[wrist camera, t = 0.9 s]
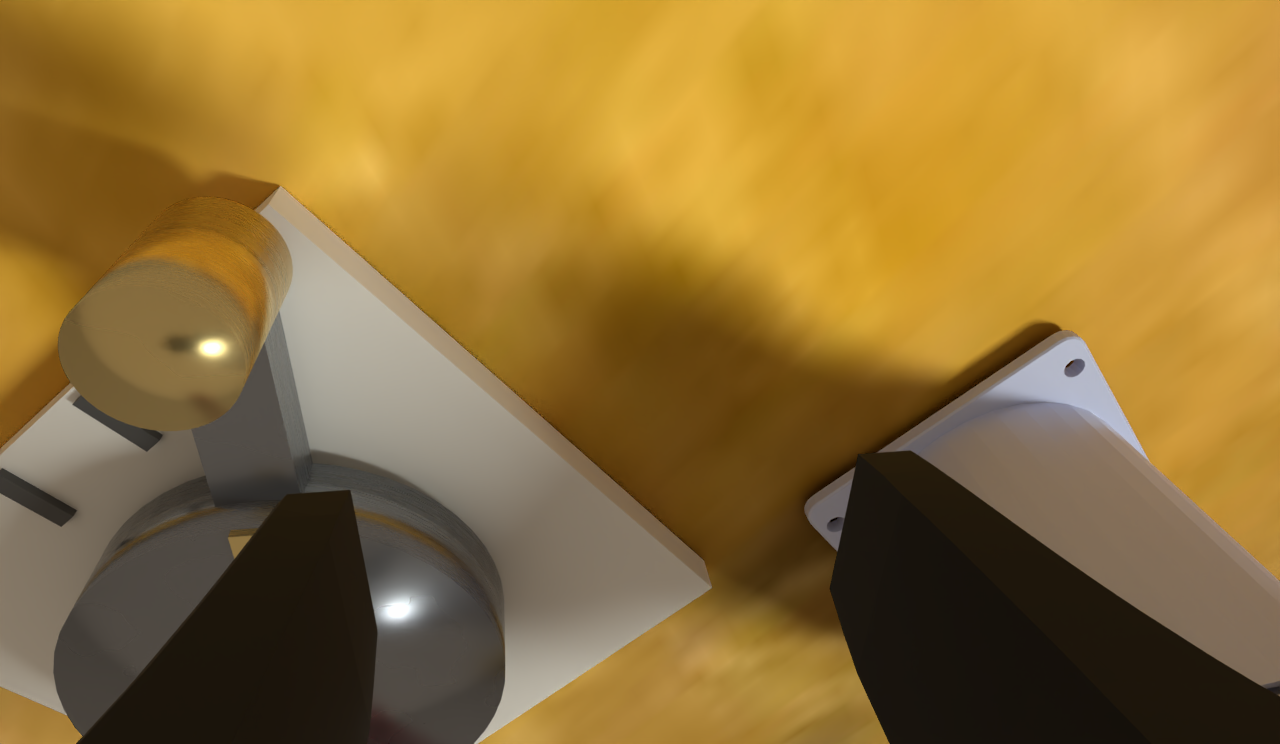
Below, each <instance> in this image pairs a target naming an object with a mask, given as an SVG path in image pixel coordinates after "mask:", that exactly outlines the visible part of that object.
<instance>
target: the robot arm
mask: <svg viewBox="0 0 1280 744" xmlns="http://www.w3.org/2000/svg"><path fill="white" fill-rule="evenodd" d="M1072 360H1074V362H1073V363H1072V364H1071V365H1070V366H1069V367H1067V368H1065V367H1066V365H1067V364H1068V363H1069V362H1070V361H1072ZM804 512H805V514H806V516H807V518H808V520H809V522H810V524H811V525H812V526H813V527H814V528H815V529H816V530H817V531H818V532H819V533H820V534H821V535H822V536H823V537H824V538H825V539H826V540H827V541H828V543H829V544H830V545H831V546H832V547H833V548H834V549H835V550H836V551H837V556H836V561H835V566H834V570H833V575H832V580H831V585H830V591H831V594H832V597H833V601H834V604H835V607H836V610H837V613H838V617H839V620H840V623H841V626H842V630H843V633H844V636H845V639H846V642H847V645H848V648H849V651H850V653H851V656H852V659H853V662H854V665H855V668H856V671H857V674H858V676H859V678H860V680H861V683H862V685H863V687H864V689H865V691H866V694H867V696H868V698H869V700H870V702H871V704H872V707H873V709H874V711H875V713H876V715H877V717H878V720H879V722H880V724H881V726H882V728H883V730H884V732H885V735H886V737H887V739H888V741H889V743H890V744H1280V581H1279V580H1278V579H1277V578H1276V577H1275V576H1274V575H1272V574H1271V573H1270V572H1269V571H1268V570H1267V569H1266V568H1265V567H1264V566H1263V565H1262V564H1260V563H1259V562H1258V561H1257V560H1256V559H1255V558H1254V557H1253V556H1252V555H1251V554H1250V553H1248V552H1247V551H1246V550H1245V549H1244V548H1243V547H1242V546H1241V545H1240V544H1239V543H1238V542H1236V541H1235V540H1234V539H1233V538H1232V537H1231V536H1230V535H1229V534H1228V533H1227V532H1226V531H1224V530H1223V529H1222V528H1221V527H1220V526H1219V525H1218V524H1217V523H1216V522H1215V521H1214V520H1212V519H1211V518H1210V517H1209V516H1208V515H1207V514H1206V513H1205V512H1204V511H1203V510H1202V509H1200V508H1199V507H1198V506H1197V505H1196V504H1195V503H1194V502H1193V501H1192V500H1191V499H1190V498H1188V497H1187V496H1186V495H1185V494H1184V493H1183V492H1182V491H1181V490H1180V489H1179V488H1178V487H1176V486H1175V485H1174V484H1173V483H1172V482H1171V481H1170V480H1169V479H1168V478H1167V477H1166V476H1164V475H1163V474H1162V473H1161V472H1160V471H1159V470H1158V469H1157V468H1156V467H1155V466H1154V465H1152V464H1151V463H1150V462H1149V460H1148V458H1147V456H1146V454H1145V452H1144V450H1143V449H1142V447H1141V445H1140V443H1139V441H1138V439H1137V438H1136V436H1135V434H1134V432H1133V430H1132V428H1131V426H1130V425H1129V423H1128V421H1127V419H1126V417H1125V415H1124V413H1123V412H1122V410H1121V408H1120V406H1119V404H1118V402H1117V401H1116V399H1115V397H1114V395H1113V393H1112V391H1111V389H1110V388H1109V386H1108V384H1107V382H1106V380H1105V378H1104V377H1103V375H1102V373H1101V371H1100V369H1099V367H1098V365H1097V364H1096V362H1095V360H1094V358H1093V356H1092V354H1091V353H1090V351H1089V349H1088V347H1087V345H1086V343H1085V342H1084V341H1083V340H1082V339H1081V338H1080V337H1079V336H1078V335H1077V334H1075V333H1074V332H1072V331H1068V330H1064V331H1059V332H1057V333H1055V334H1052V335H1051V336H1049V337H1048V338H1046V339H1045V340H1043V341H1042V342H1040V343H1039V344H1037V345H1036V346H1034V347H1033V348H1031V349H1030V350H1028V351H1027V352H1025V353H1024V354H1022V355H1021V356H1019V357H1018V358H1017V359H1015V360H1014V361H1012V362H1011V363H1009V364H1008V365H1006V366H1005V367H1003V368H1002V369H1000V370H999V371H997V372H996V373H994V374H993V375H991V376H990V377H988V378H987V379H985V380H984V381H982V382H981V383H979V384H978V385H976V386H975V387H973V388H972V389H970V390H969V391H967V392H966V393H964V394H963V395H961V396H960V397H959V398H957V399H956V400H954V401H953V402H951V403H950V404H948V405H947V406H945V407H944V408H942V409H941V410H939V411H938V412H936V413H935V414H933V415H932V416H930V417H929V418H927V419H926V420H924V421H923V422H921V423H920V424H918V425H917V426H915V427H914V428H912V429H911V430H909V431H908V432H906V433H905V434H903V435H902V436H900V437H899V438H898V439H896V440H895V441H893V442H892V443H890V444H889V445H887V446H886V447H884V448H883V449H881V450H880V451H878V452H877V453H866V454H858V458H857V462H856V467H854V468H853V469H851V470H850V471H848V472H847V473H845V474H844V475H842V476H841V477H839V478H838V479H837V480H835V481H834V482H832V483H831V484H829V485H828V486H826V487H825V488H823V489H822V490H820V491H819V492H817V493H816V494H814V495H813V496H812V497H811V498H809V499H808V500H807V502H806V504H805V507H804ZM836 517H839V518H838V519H837V520H835V521H833V522H829V521H830V520H831V519H833V518H836ZM377 635H378V630H377V624H376V619H375V614H374V609H373V604H372V599H371V593H370V588H369V583H368V578H367V573H366V568H365V562H364V557H363V552H362V547H361V542H360V536H359V531H358V526H357V521H356V516H355V511H354V505H353V500H352V495H351V490H340V491H325V492H311V493H297V494H287V495H286V496H285V497H284V498H283V499H282V500H281V501H280V502H279V503H278V504H277V505H276V506H275V507H274V509H273V510H272V511H271V513H270V514H269V515H268V516H267V518H266V519H265V520H264V521H263V523H262V524H261V525H260V527H259V528H258V529H257V531H256V532H255V533H254V534H253V536H252V537H251V538H250V540H249V541H248V542H247V543H246V545H245V546H244V547H243V549H242V550H241V551H240V552H239V554H238V555H237V556H236V558H235V559H234V560H233V561H232V563H231V564H230V565H229V566H228V568H227V569H226V570H225V571H224V573H223V574H222V575H221V576H220V578H219V579H218V580H217V581H216V583H215V584H214V585H213V586H212V588H211V589H210V590H209V591H208V593H207V594H206V595H205V596H204V598H203V599H202V600H201V601H200V603H199V604H198V605H197V606H196V608H195V609H194V610H193V611H192V612H191V613H190V615H189V616H188V617H187V618H186V619H185V621H184V622H183V623H182V624H181V625H180V627H179V628H178V629H177V630H176V631H175V632H174V634H173V635H172V636H171V637H170V638H169V640H168V641H167V642H166V643H165V644H164V646H163V647H162V648H161V649H160V650H159V652H158V653H157V654H156V655H155V656H154V657H153V659H152V660H151V661H150V662H149V663H148V665H147V666H146V667H145V668H144V669H143V670H142V672H141V673H140V674H139V675H138V676H137V677H136V679H135V680H134V681H133V682H132V683H131V684H130V685H129V686H128V688H127V689H126V690H125V691H124V692H123V693H122V694H121V695H120V696H119V698H118V699H117V700H116V701H115V702H114V703H113V704H112V705H111V706H110V707H109V708H108V710H107V711H106V712H105V713H104V714H103V715H102V716H101V717H100V718H99V719H98V720H97V722H96V723H95V724H94V725H93V726H92V727H91V728H90V729H89V730H88V731H87V732H86V734H85V735H84V736H83V737H82V738H81V739H80V740H79V741H78V742H77V743H76V744H367V741H368V736H369V730H370V723H371V711H372V700H373V688H374V676H375V662H376V649H377Z"/></svg>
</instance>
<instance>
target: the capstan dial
mask: <svg viewBox="0 0 1280 744" xmlns="http://www.w3.org/2000/svg"><path fill="white" fill-rule="evenodd" d="M292 276H293V265H292V258H291V255H290V251H289V249H288V247H287V244H286V242H285V241H284V239H283V237H282V236H281V234H280V233H279V232H278V231H277V229H276V228H275V227H274V226H273V225H272V224H271V223H270V222H269V221H268V220H267V219H266V218H264V217H263V216H262V215H260V214H259V213H257V212H256V211H254V210H253V209H251V208H249V207H247V206H245V205H243V204H240V203H238V202H235V201H231V200H228V199H223V198H217V197H195V198H190V199H186V200H183V201H180V202H177V203H175V204H173V205H171V206H170V207H168V208H167V209H165V210H164V211H163V212H162V213H161V214H160V215H159V216H158V217H157V218H156V219H155V220H154V221H153V222H152V223H151V224H150V225H149V227H148V228H147V229H146V230H145V231H144V232H143V233H142V234H141V235H140V236H139V237H138V238H137V239H136V241H135V242H134V243H133V244H132V245H131V246H130V247H129V248H128V249H127V250H126V251H125V252H124V254H123V255H122V256H121V257H120V258H119V259H118V260H117V261H116V262H115V263H114V264H113V265H112V267H111V268H110V269H109V270H108V271H107V272H106V273H105V274H104V275H103V276H102V277H101V278H100V279H99V281H98V282H97V283H96V284H95V285H94V286H93V287H92V288H91V289H90V290H89V291H88V292H87V294H86V295H85V296H84V297H83V298H82V299H81V300H80V301H79V302H78V303H77V304H76V305H75V307H74V308H73V309H72V310H71V311H70V312H69V313H68V315H67V316H66V318H65V319H64V321H63V324H62V326H61V328H60V332H59V337H58V352H59V358H60V362H61V365H62V368H63V370H64V372H65V374H66V376H67V378H68V379H69V381H70V382H71V384H72V385H73V387H74V388H75V389H76V390H77V391H78V392H79V394H80V395H81V396H82V397H84V398H85V399H86V400H87V401H88V402H89V403H90V404H92V405H93V406H94V407H96V408H97V409H98V410H100V411H102V412H103V413H105V414H107V415H108V416H110V417H112V418H114V419H116V420H118V421H121V422H124V423H126V424H129V425H132V426H136V427H139V428H144V429H149V430H157V431H181V430H189V429H191V430H192V434H193V437H194V440H195V443H196V447H197V450H198V453H199V456H200V460H201V463H202V466H203V469H204V473H205V476H202V477H199V478H196V479H193V480H190V481H187V482H185V483H183V484H181V485H179V486H177V487H175V488H173V489H171V490H169V491H167V492H164V493H162V494H161V495H159V496H158V497H156V498H155V499H153V500H152V501H150V502H149V503H147V504H146V505H144V506H143V507H141V508H140V509H139V510H138V511H137V512H136V513H135V514H134V515H132V516H131V517H130V518H129V519H128V520H127V521H126V522H125V523H124V524H123V525H122V526H121V528H120V529H119V530H118V531H117V533H116V534H115V535H114V536H113V538H112V539H111V540H110V542H109V544H108V545H107V547H106V549H105V551H104V553H103V554H102V556H101V558H100V560H99V562H98V563H97V565H96V567H95V569H94V571H93V572H92V574H91V576H90V578H89V580H88V581H87V583H86V585H85V587H84V589H83V590H82V592H81V594H80V596H79V598H78V599H77V601H76V603H75V605H74V607H73V608H72V610H71V612H70V614H69V616H68V618H67V619H66V621H65V623H64V625H63V627H62V629H61V631H60V633H59V637H58V640H57V644H56V647H55V651H54V666H53V674H54V679H55V685H56V691H57V694H58V696H59V699H60V701H61V704H62V706H63V709H64V711H65V712H66V714H67V716H68V717H69V719H70V720H71V722H72V723H73V725H74V727H75V728H76V729H77V730H78V731H79V733H80V734H81V735H82V736H84V735H85V734H86V732H87V731H88V730H89V729H90V728H91V727H92V726H93V725H94V724H95V723H96V722H97V720H98V719H99V718H100V717H101V716H102V715H103V714H104V713H105V712H106V711H107V710H108V708H109V707H110V706H111V705H112V704H113V703H114V702H115V701H116V700H117V699H118V698H119V696H120V695H121V694H122V693H123V692H124V691H125V690H126V689H127V688H128V686H129V685H130V684H131V683H132V682H133V681H134V680H135V679H136V677H137V676H138V675H139V674H140V673H141V672H142V670H143V669H144V668H145V667H146V666H147V665H148V663H149V662H150V661H151V660H152V659H153V657H154V656H155V655H156V654H157V653H158V652H159V650H160V649H161V648H162V647H163V646H164V644H165V643H166V642H167V641H168V640H169V638H170V637H171V636H172V635H173V634H174V632H175V631H176V630H177V629H178V628H179V627H180V625H181V624H182V623H183V622H184V621H185V619H186V618H187V617H188V616H189V615H190V613H191V612H192V611H193V610H194V609H195V608H196V606H197V605H198V604H199V603H200V601H201V600H202V599H203V598H204V596H205V595H206V594H207V593H208V591H209V590H210V589H211V588H212V586H213V585H214V584H215V583H216V581H217V580H218V579H219V578H220V576H221V575H222V574H223V573H224V571H225V570H226V569H227V568H228V566H229V565H230V564H231V563H232V561H233V560H234V559H235V558H236V556H237V555H238V554H239V552H240V551H241V550H242V549H243V547H244V546H245V545H246V543H247V542H248V541H249V540H250V538H251V537H252V536H253V534H254V533H255V532H256V531H257V529H258V528H259V527H260V525H261V524H262V523H263V521H264V520H265V519H266V518H267V516H268V515H269V514H270V513H271V511H272V510H273V509H274V507H275V506H276V505H277V504H278V503H279V502H280V501H281V500H282V499H283V498H284V497H285V496H286V495H287V494H297V493H311V492H325V491H340V490H351V495H352V500H353V505H354V511H355V516H356V521H357V526H358V531H359V536H360V542H361V547H362V552H363V557H364V562H365V568H366V573H367V578H368V583H369V588H370V593H371V599H372V604H373V609H374V614H375V619H376V624H377V630H378V635H377V649H376V662H375V676H374V688H373V700H372V711H371V723H370V730H369V736H368V741H367V744H474V743H475V742H476V741H477V739H478V738H479V737H480V736H481V735H482V734H483V733H484V731H485V730H486V728H487V727H488V725H489V724H490V722H491V720H492V719H493V717H494V716H495V713H496V711H497V708H498V706H499V704H500V701H501V698H502V694H503V689H504V685H505V620H504V594H503V588H502V582H501V579H500V576H499V573H498V570H497V568H496V565H495V562H494V561H493V559H492V557H491V555H490V554H489V552H488V550H487V548H486V547H485V545H484V544H483V543H482V542H481V540H480V539H479V538H478V537H477V535H476V534H475V533H474V532H473V530H472V529H471V528H470V527H468V526H467V525H466V524H465V523H464V522H463V521H462V520H461V519H460V518H459V517H458V516H457V515H456V514H454V513H453V512H451V511H450V510H448V509H447V508H446V507H444V506H443V505H441V504H440V503H439V502H437V501H436V500H434V499H432V498H430V497H428V496H427V495H425V494H423V493H421V492H419V491H417V490H415V489H414V488H411V487H409V486H406V485H404V484H402V483H399V482H397V481H394V480H392V479H389V478H386V477H383V476H379V475H376V474H372V473H369V472H365V471H362V470H357V469H352V468H346V467H341V466H335V465H328V464H316V463H313V462H312V457H311V453H310V448H309V443H308V439H307V434H306V430H305V425H304V421H303V416H302V411H301V407H300V402H299V398H298V393H297V389H296V384H295V379H294V375H293V370H292V366H291V361H290V357H289V352H288V348H287V343H286V338H285V334H284V329H283V325H282V320H281V316H280V311H279V310H280V308H281V306H282V303H283V301H284V299H285V297H286V295H287V293H288V290H289V288H290V285H291V282H292Z"/></svg>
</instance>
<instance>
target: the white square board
mask: <svg viewBox="0 0 1280 744" xmlns="http://www.w3.org/2000/svg"><path fill="white" fill-rule="evenodd" d="M254 211H256V212H257V213H259V214H260V215H262V216H263V217H264V218H266V219H267V220H268V221H269V222H270V223H271V224H272V225H273V226H274V227H275V228H276V229H277V231H278V232H279V233H280V234H281V236H282V237H283V239H284V241H285V242H286V244H287V247H288V249H289V251H290V255H291V258H292V265H293V276H292V282H291V285H290V288H289V290H288V293H287V295H286V297H285V299H284V301H283V303H282V306H281V308H280V310H279V311H280V316H281V320H282V325H283V329H284V334H285V338H286V343H287V348H288V352H289V357H290V361H291V366H292V370H293V375H294V379H295V384H296V389H297V393H298V398H299V402H300V407H301V411H302V416H303V421H304V425H305V430H306V434H307V439H308V443H309V448H310V453H311V457H312V462H313V463H316V464H328V465H335V466H341V467H346V468H352V469H357V470H362V471H365V472H369V473H372V474H376V475H379V476H383V477H386V478H389V479H392V480H394V481H397V482H399V483H402V484H404V485H406V486H409V487H411V488H414V489H415V490H417V491H419V492H421V493H423V494H425V495H427V496H428V497H430V498H432V499H434V500H436V501H437V502H439V503H440V504H441V505H443V506H444V507H446V508H447V509H448V510H450V511H451V512H453V513H454V514H456V515H457V516H458V517H459V518H460V519H461V520H462V521H463V522H464V523H465V524H466V525H467V526H468V527H470V528H471V529H472V530H473V532H474V533H475V534H476V535H477V537H478V538H479V539H480V540H481V542H482V543H483V544H484V545H485V547H486V548H487V550H488V552H489V554H490V555H491V557H492V559H493V561H494V562H495V565H496V568H497V570H498V573H499V576H500V579H501V582H502V588H503V594H504V620H505V685H504V689H503V694H502V698H501V701H500V704H499V706H498V708H497V711H496V713H495V716H494V717H493V719H492V720H491V722H490V724H489V725H488V727H487V728H486V730H485V731H484V733H483V734H482V735H481V736H480V737H479V738H478V739H477V741H476V742H475V743H474V744H478V743H479V742H481V741H482V740H484V739H485V738H487V737H488V736H490V735H491V734H493V733H494V732H496V731H497V730H499V729H500V728H502V727H503V726H505V725H506V724H508V723H509V722H511V721H512V720H514V719H515V718H517V717H518V716H520V715H521V714H523V713H524V712H526V711H527V710H529V709H530V708H532V707H533V706H535V705H536V704H538V703H539V702H541V701H542V700H544V699H545V698H547V697H548V696H550V695H551V694H553V693H555V692H556V691H558V690H559V689H561V688H562V687H564V686H565V685H567V684H568V683H570V682H571V681H573V680H574V679H576V678H577V677H579V676H580V675H582V674H583V673H585V672H586V671H588V670H589V669H591V668H592V667H594V666H595V665H597V664H598V663H600V662H601V661H603V660H604V659H606V658H607V657H609V656H610V655H612V654H613V653H615V652H616V651H618V650H619V649H621V648H622V647H624V646H625V645H627V644H628V643H630V642H631V641H633V640H634V639H636V638H637V637H639V636H640V635H642V634H643V633H645V632H646V631H648V630H649V629H651V628H652V627H654V626H655V625H657V624H658V623H660V622H661V621H663V620H664V619H666V618H667V617H669V616H670V615H672V614H674V613H675V612H677V611H678V610H680V609H681V608H683V607H684V606H686V605H687V604H689V603H690V602H692V601H693V600H695V599H696V598H698V597H699V596H701V595H702V594H704V593H705V592H707V591H708V590H710V589H711V588H712V585H711V582H710V579H709V575H708V572H707V569H706V566H705V562H704V560H703V559H702V558H700V557H699V556H698V555H697V554H696V553H695V552H694V551H693V550H691V549H690V548H689V547H688V546H687V545H686V544H685V543H684V542H682V541H681V540H680V539H679V538H678V537H677V536H676V535H674V534H673V533H672V532H671V531H670V530H669V529H668V528H667V527H665V526H664V525H663V524H662V523H661V522H660V521H659V520H658V519H656V518H655V517H654V516H653V515H652V514H651V513H650V512H648V511H647V510H646V509H645V508H644V507H643V506H642V505H641V504H639V503H638V502H637V501H636V500H635V499H634V498H633V497H632V496H630V495H629V494H628V493H627V492H626V491H625V490H624V489H623V488H621V487H620V486H619V485H618V484H617V483H616V482H615V481H613V480H612V479H611V478H610V477H609V476H608V475H607V474H606V473H604V472H603V471H602V470H601V469H600V468H599V467H598V466H597V465H595V464H594V463H593V462H592V461H591V460H590V459H589V458H587V457H586V456H585V455H584V454H583V453H582V452H581V451H580V450H578V449H577V448H576V447H575V446H574V445H573V444H572V443H571V442H569V441H568V440H567V439H566V438H565V437H564V436H563V435H562V434H560V433H559V432H558V431H557V430H556V429H555V428H554V427H552V426H551V425H550V424H549V423H548V422H547V421H546V420H545V419H543V418H542V417H541V416H540V415H539V414H538V413H537V412H536V411H534V410H533V409H532V408H531V407H530V406H529V405H528V404H526V403H525V402H524V401H523V400H522V399H521V398H520V397H519V396H517V395H516V394H515V393H514V392H513V391H512V390H511V389H510V388H508V387H507V386H506V385H505V384H504V383H503V382H502V381H501V380H499V379H498V378H497V377H496V376H495V375H494V374H493V373H491V372H490V371H489V370H488V369H487V368H486V367H485V366H484V365H482V364H481V363H480V362H479V361H478V360H477V359H476V358H475V357H473V356H472V355H471V354H470V353H469V352H468V351H467V350H465V349H464V348H463V347H462V346H461V345H460V344H459V343H458V342H456V341H455V340H454V339H453V338H452V337H451V336H450V335H449V334H447V333H446V332H445V331H444V330H443V329H442V328H441V327H440V326H438V325H437V324H436V323H435V322H434V321H433V320H432V319H430V318H429V317H428V316H427V315H426V314H425V313H424V312H423V311H421V310H420V309H419V308H418V307H417V306H416V305H415V304H414V303H412V302H411V301H410V300H409V299H408V298H407V297H406V296H404V295H403V294H402V293H401V292H400V291H399V290H398V289H397V288H395V287H394V286H393V285H392V284H391V283H390V282H389V281H388V280H386V279H385V278H384V277H383V276H382V275H381V274H380V273H379V272H377V271H376V270H375V269H374V268H373V267H372V266H371V265H369V264H368V263H367V262H366V261H365V260H364V259H363V258H362V257H360V256H359V255H358V254H357V253H356V252H355V251H354V250H353V249H351V248H350V247H349V246H348V245H347V244H346V243H345V242H344V241H342V240H341V239H340V238H339V237H338V236H337V235H336V234H334V233H333V232H332V231H331V230H330V229H329V228H328V227H327V226H325V225H324V224H323V223H322V222H321V221H320V220H319V219H318V218H316V217H315V216H314V215H313V214H312V213H311V212H310V211H308V210H307V209H306V208H305V207H304V206H303V205H302V204H301V203H299V202H298V201H297V200H296V199H295V198H294V197H293V196H292V195H290V194H289V193H288V192H287V191H286V190H285V189H284V188H283V187H281V186H280V187H279V188H278V189H276V190H275V191H274V192H273V193H272V194H271V195H270V196H269V197H268V198H267V199H266V200H265V201H264V202H263V203H262V204H260V205H259V206H258V207H257V208H256V209H255V210H254ZM202 476H205V473H204V469H203V466H202V463H201V460H200V456H199V453H198V450H197V447H196V443H195V440H194V437H193V434H192V430H191V429H189V430H181V431H157V430H149V429H144V428H139V427H136V426H132V425H129V424H126V423H124V422H121V421H118V420H116V419H114V418H112V417H110V416H108V415H107V414H105V413H103V412H102V411H100V410H98V409H97V408H96V407H94V406H93V405H92V404H90V403H89V402H88V401H87V400H86V399H85V398H84V397H82V396H81V395H80V394H79V392H78V391H77V390H76V389H75V388H74V387H73V385H72V384H71V383H69V384H68V385H67V386H66V387H65V388H64V389H63V390H62V391H61V392H60V393H59V394H58V395H57V396H56V397H55V398H53V399H52V400H51V401H50V402H49V403H48V404H47V405H46V406H45V407H44V408H43V409H42V410H41V411H40V412H39V413H37V414H36V415H35V416H34V417H33V418H32V419H31V420H30V421H29V422H28V423H27V424H26V425H25V426H24V427H23V428H21V429H20V430H19V431H18V432H17V433H16V434H15V435H14V436H13V437H12V438H11V439H10V440H9V441H8V442H7V443H5V444H4V445H3V446H2V447H1V448H0V687H3V688H5V689H7V690H10V691H12V692H14V693H16V694H19V695H21V696H23V697H26V698H28V699H30V700H33V701H35V702H37V703H39V704H42V705H44V706H46V707H49V708H51V709H53V710H56V711H58V712H60V713H62V714H65V715H67V714H66V712H65V711H64V709H63V706H62V704H61V701H60V699H59V696H58V694H57V691H56V685H55V679H54V674H53V666H54V651H55V647H56V644H57V640H58V637H59V633H60V631H61V629H62V627H63V625H64V623H65V621H66V619H67V618H68V616H69V614H70V612H71V610H72V608H73V607H74V605H75V603H76V601H77V599H78V598H79V596H80V594H81V592H82V590H83V589H84V587H85V585H86V583H87V581H88V580H89V578H90V576H91V574H92V572H93V571H94V569H95V567H96V565H97V563H98V562H99V560H100V558H101V556H102V554H103V553H104V551H105V549H106V547H107V545H108V544H109V542H110V540H111V539H112V538H113V536H114V535H115V534H116V533H117V531H118V530H119V529H120V528H121V526H122V525H123V524H124V523H125V522H126V521H127V520H128V519H129V518H130V517H131V516H132V515H134V514H135V513H136V512H137V511H138V510H139V509H140V508H141V507H143V506H144V505H146V504H147V503H149V502H150V501H152V500H153V499H155V498H156V497H158V496H159V495H161V494H162V493H164V492H167V491H169V490H171V489H173V488H175V487H177V486H179V485H181V484H183V483H185V482H187V481H190V480H193V479H196V478H199V477H202Z"/></svg>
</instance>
